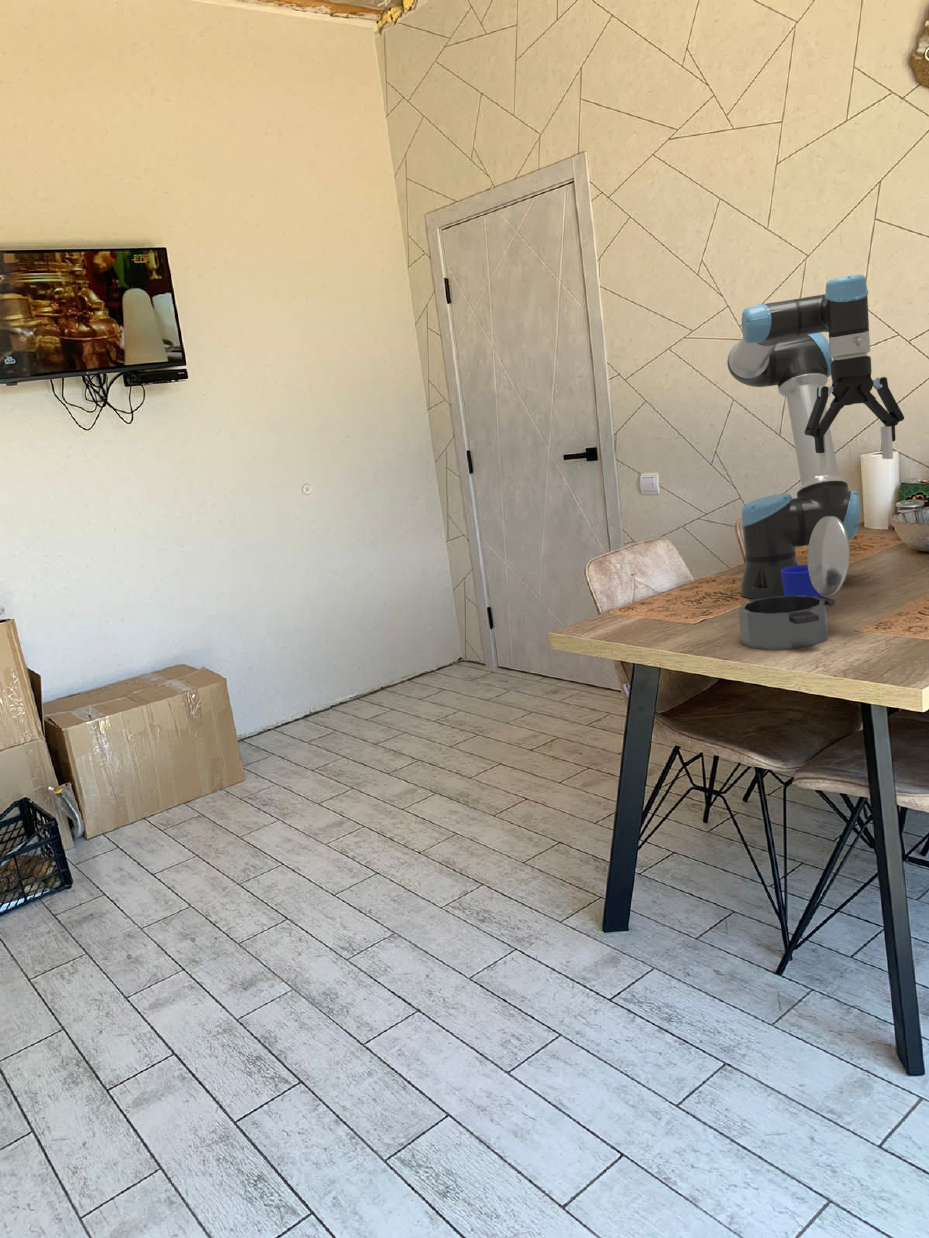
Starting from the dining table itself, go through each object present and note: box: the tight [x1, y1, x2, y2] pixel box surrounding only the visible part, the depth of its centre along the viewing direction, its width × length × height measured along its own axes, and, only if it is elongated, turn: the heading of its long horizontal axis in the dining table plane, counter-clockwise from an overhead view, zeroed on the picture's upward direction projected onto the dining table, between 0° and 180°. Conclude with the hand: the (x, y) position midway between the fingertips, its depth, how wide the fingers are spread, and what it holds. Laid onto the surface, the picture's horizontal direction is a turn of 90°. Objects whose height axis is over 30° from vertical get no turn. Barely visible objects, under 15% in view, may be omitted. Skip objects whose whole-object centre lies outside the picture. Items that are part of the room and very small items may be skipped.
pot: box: [738, 595, 836, 651], centre depth 186 cm, size 22×18×7 cm
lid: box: [806, 516, 851, 596], centre depth 184 cm, size 16×16×2 cm
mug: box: [781, 564, 822, 597], centre depth 205 cm, size 8×12×10 cm
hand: (856, 463), depth 192 cm, fingers open, 13 cm apart
